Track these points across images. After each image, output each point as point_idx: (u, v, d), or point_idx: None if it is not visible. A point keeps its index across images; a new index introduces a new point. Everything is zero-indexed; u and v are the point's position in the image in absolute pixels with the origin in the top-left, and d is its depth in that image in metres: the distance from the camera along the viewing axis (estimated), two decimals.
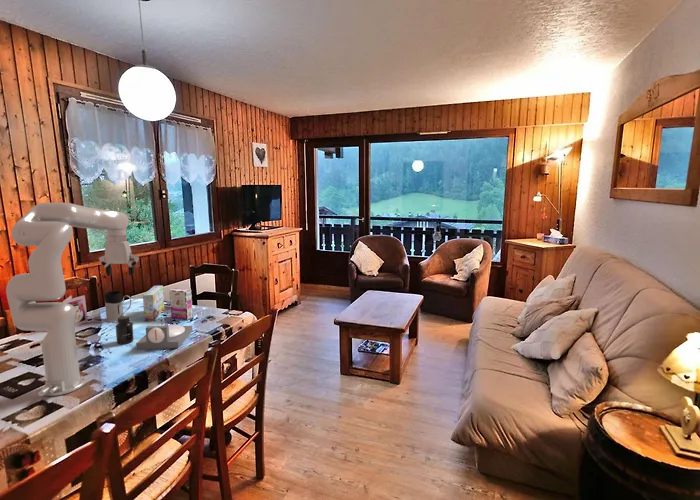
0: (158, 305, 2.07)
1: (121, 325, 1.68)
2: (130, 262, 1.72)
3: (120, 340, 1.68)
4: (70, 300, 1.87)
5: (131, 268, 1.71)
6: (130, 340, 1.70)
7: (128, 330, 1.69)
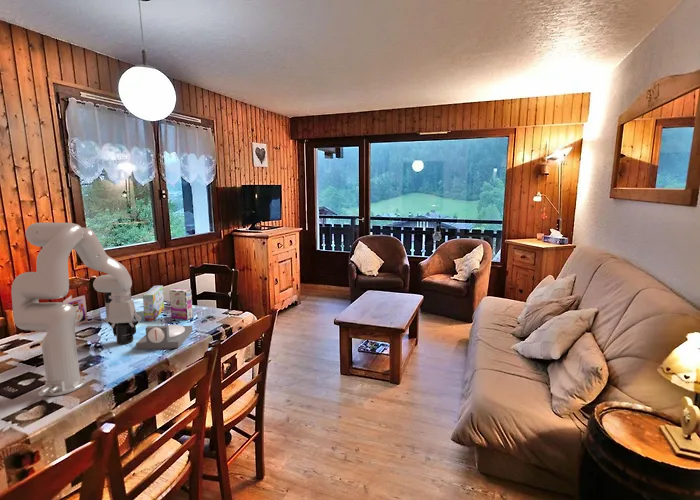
0: (158, 305, 2.07)
1: (121, 325, 1.68)
2: (133, 321, 1.72)
3: (120, 340, 1.68)
4: (70, 300, 1.87)
5: (133, 328, 1.70)
6: (130, 340, 1.70)
7: (128, 330, 1.69)
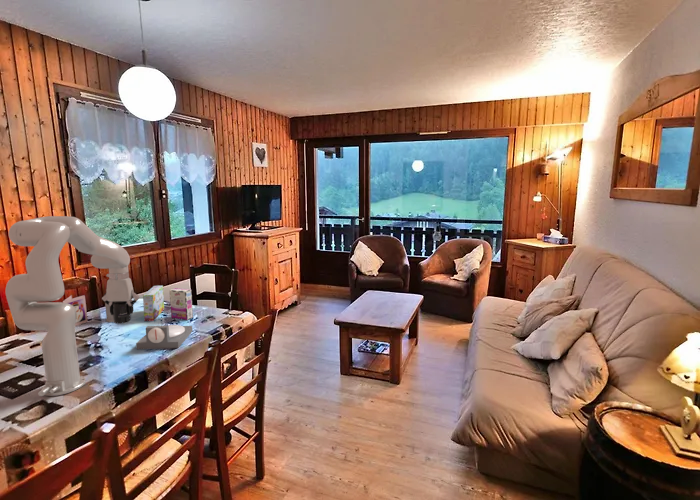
0: (158, 305, 2.07)
1: (118, 304, 1.66)
2: (130, 300, 1.69)
3: (117, 318, 1.66)
4: (70, 300, 1.87)
5: (130, 307, 1.68)
6: (127, 319, 1.68)
7: (125, 309, 1.67)
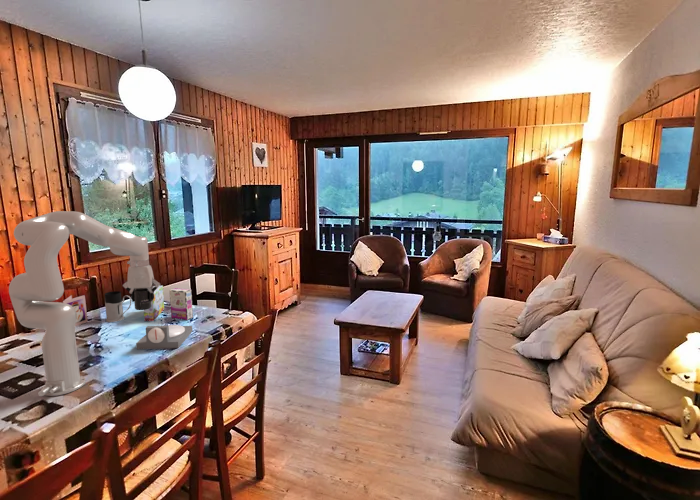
0: (158, 305, 2.07)
1: (140, 290, 1.67)
2: (151, 287, 1.71)
3: (139, 305, 1.67)
4: (70, 300, 1.87)
5: (151, 294, 1.70)
6: (148, 306, 1.70)
7: (146, 295, 1.68)
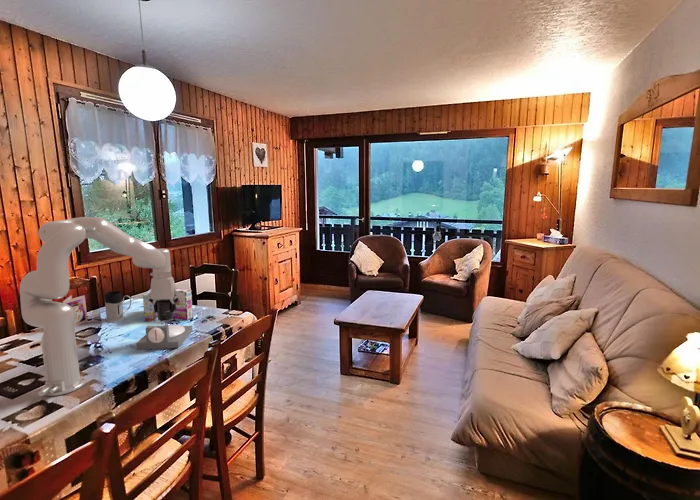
0: None
1: (162, 302, 1.70)
2: (173, 298, 1.74)
3: (161, 316, 1.70)
4: (70, 300, 1.87)
5: (173, 305, 1.73)
6: (170, 317, 1.73)
7: (169, 306, 1.71)
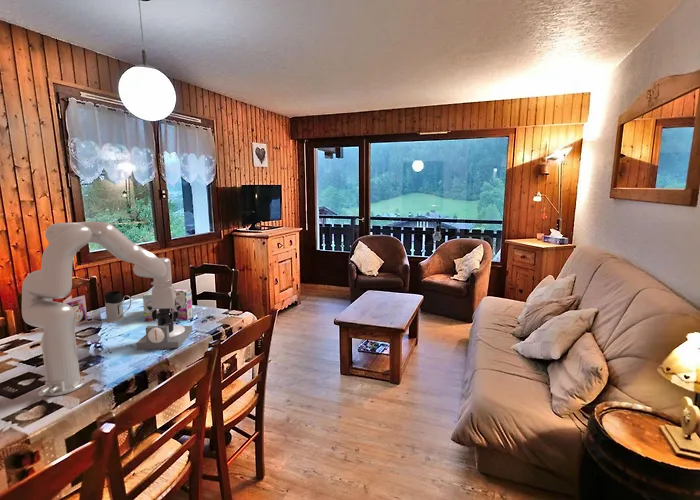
0: None
1: (162, 314, 1.71)
2: (175, 306, 1.74)
3: None
4: (70, 300, 1.87)
5: (176, 312, 1.73)
6: (171, 329, 1.73)
7: (169, 319, 1.72)
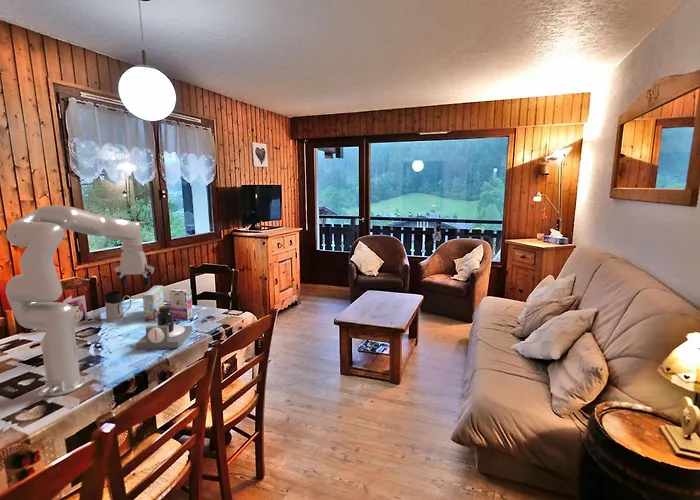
0: (158, 305, 2.07)
1: (163, 314, 1.71)
2: (145, 272, 1.69)
3: None
4: (70, 300, 1.87)
5: (146, 279, 1.67)
6: (171, 329, 1.74)
7: (169, 319, 1.72)
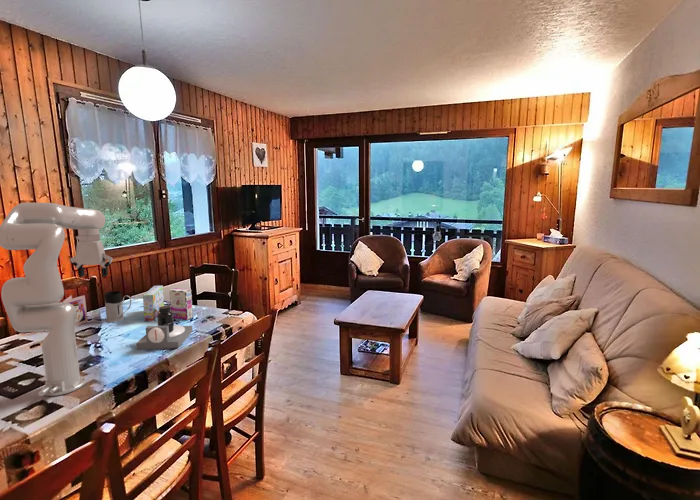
0: (158, 305, 2.07)
1: (163, 314, 1.71)
2: (103, 263, 1.64)
3: None
4: (70, 300, 1.87)
5: (104, 269, 1.63)
6: (171, 329, 1.74)
7: (169, 319, 1.72)
